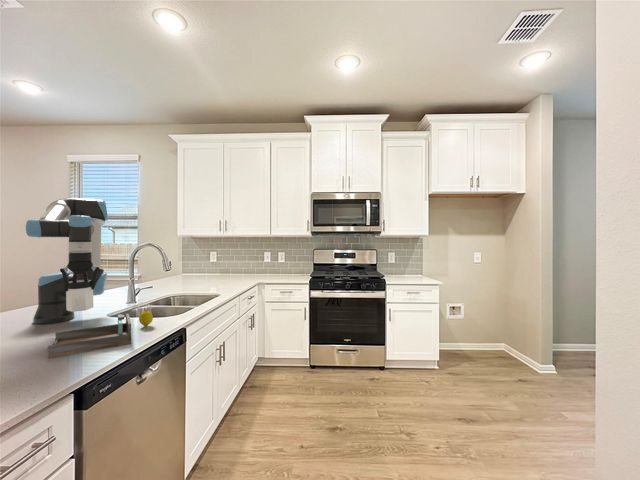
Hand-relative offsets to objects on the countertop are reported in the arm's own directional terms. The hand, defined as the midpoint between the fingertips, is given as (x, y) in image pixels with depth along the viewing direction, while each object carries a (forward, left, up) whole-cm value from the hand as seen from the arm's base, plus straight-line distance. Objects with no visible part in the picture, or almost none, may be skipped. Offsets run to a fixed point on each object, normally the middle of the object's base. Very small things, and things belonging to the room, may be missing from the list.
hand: (80, 306), depth 125 cm
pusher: (+16, +14, -10) cm, 24 cm away
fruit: (+3, +24, -12) cm, 27 cm away
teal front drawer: (+16, +5, -12) cm, 21 cm away
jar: (0, 0, -1) cm, 1 cm away
